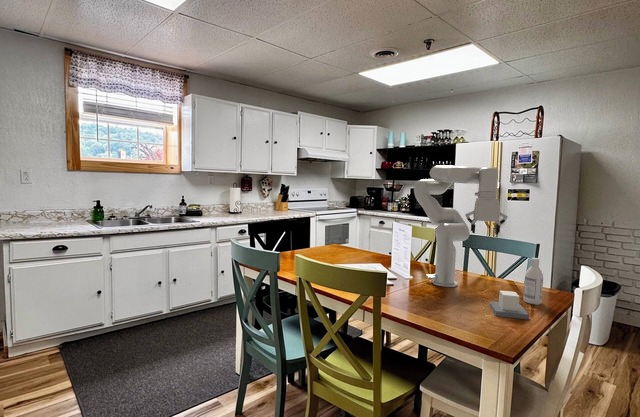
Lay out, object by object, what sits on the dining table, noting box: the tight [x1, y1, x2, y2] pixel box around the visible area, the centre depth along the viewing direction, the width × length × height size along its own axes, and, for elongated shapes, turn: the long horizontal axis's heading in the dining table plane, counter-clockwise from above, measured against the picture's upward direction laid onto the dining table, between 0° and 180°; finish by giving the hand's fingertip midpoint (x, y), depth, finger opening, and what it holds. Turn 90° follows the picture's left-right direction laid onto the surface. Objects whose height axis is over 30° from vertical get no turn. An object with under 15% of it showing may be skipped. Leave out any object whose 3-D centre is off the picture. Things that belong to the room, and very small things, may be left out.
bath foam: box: [523, 257, 544, 305], centre depth 160 cm, size 7×7×20 cm
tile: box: [488, 301, 530, 320], centre depth 147 cm, size 12×12×2 cm
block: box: [498, 290, 520, 311], centre depth 147 cm, size 6×6×6 cm
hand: (484, 233), depth 160 cm, fingers open, 9 cm apart
